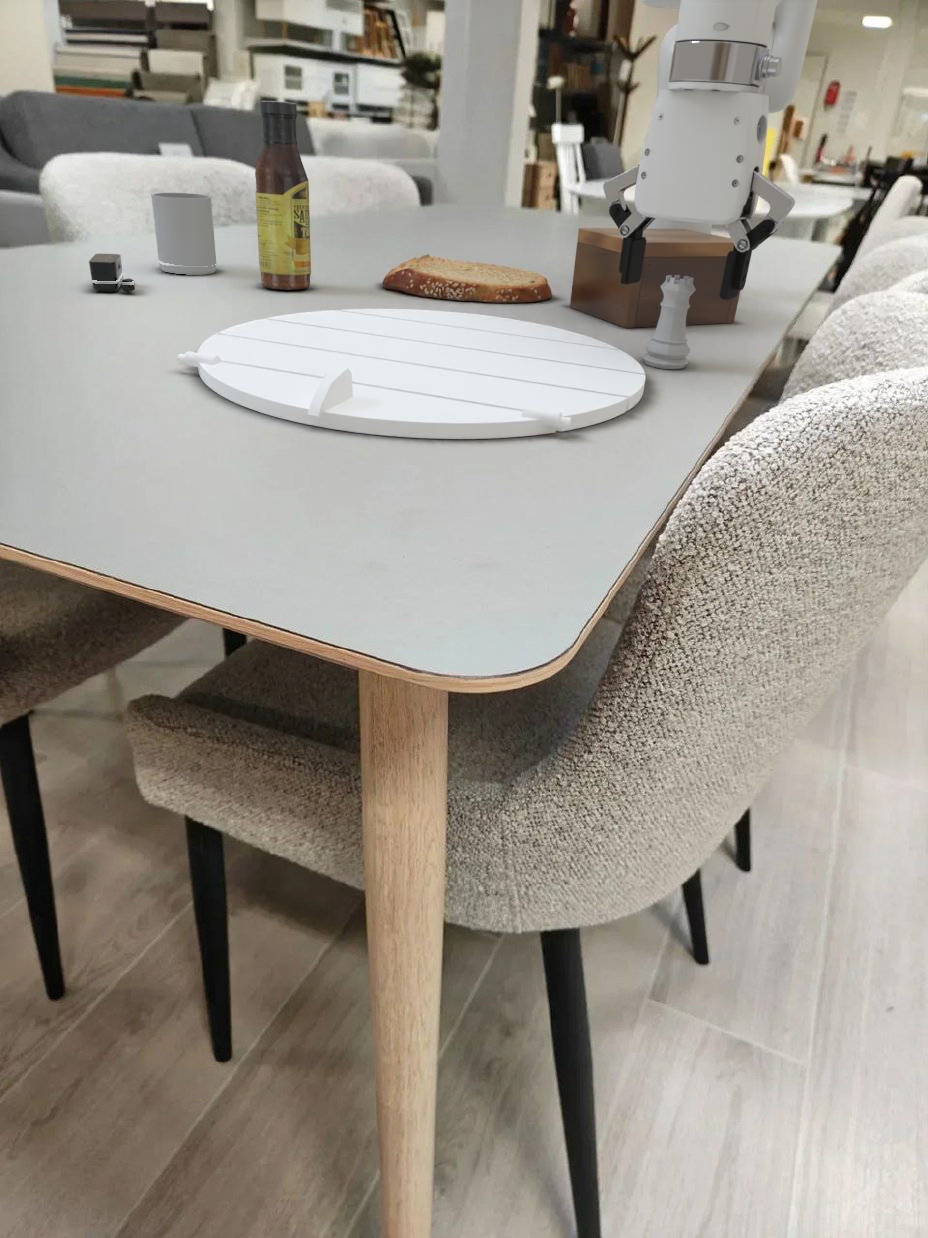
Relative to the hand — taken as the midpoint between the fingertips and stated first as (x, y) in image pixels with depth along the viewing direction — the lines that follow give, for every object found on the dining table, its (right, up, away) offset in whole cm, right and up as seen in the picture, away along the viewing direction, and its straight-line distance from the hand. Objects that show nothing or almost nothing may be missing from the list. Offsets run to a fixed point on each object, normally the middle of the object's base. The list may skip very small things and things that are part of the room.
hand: (677, 290), depth 80 cm
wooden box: (+3, +7, +26) cm, 27 cm away
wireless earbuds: (-60, +8, +20) cm, 64 cm away
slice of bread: (-20, +12, +32) cm, 39 cm away
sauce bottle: (-42, +11, +27) cm, 51 cm away
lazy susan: (-24, -8, -3) cm, 25 cm away
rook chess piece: (0, -6, +4) cm, 7 cm away
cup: (-56, +16, +34) cm, 68 cm away
